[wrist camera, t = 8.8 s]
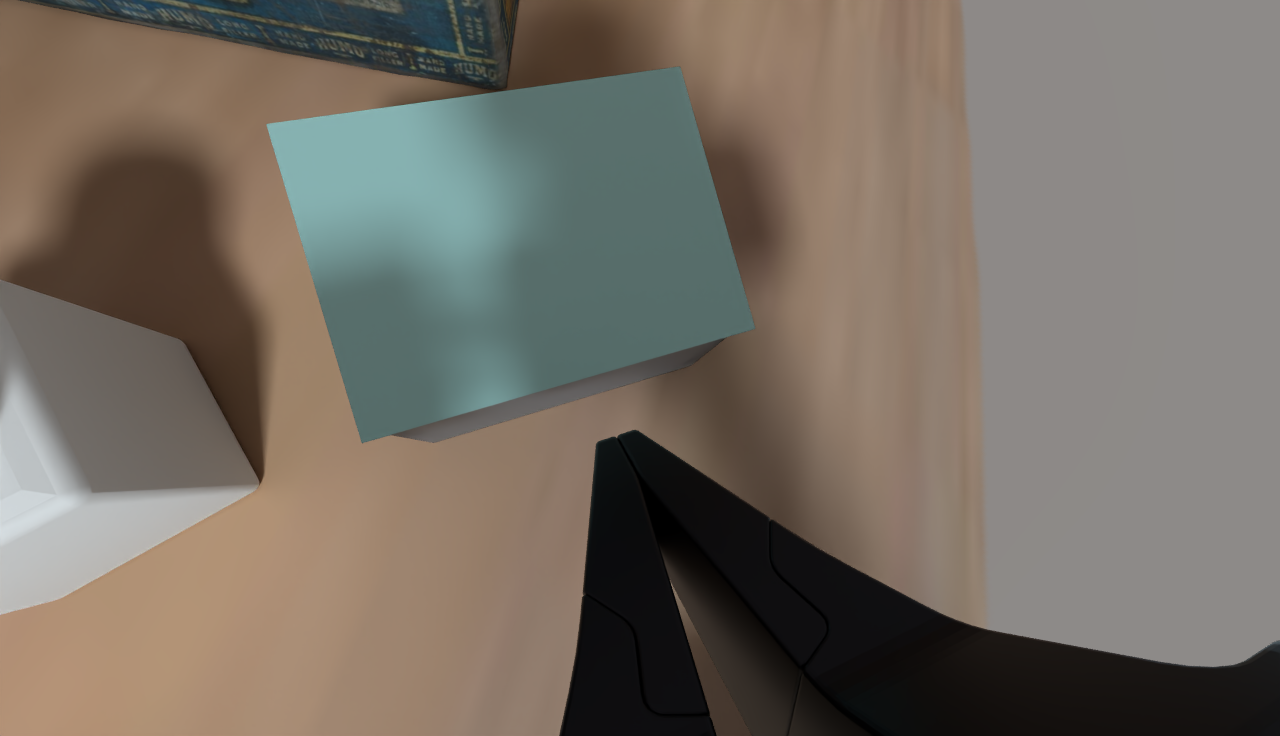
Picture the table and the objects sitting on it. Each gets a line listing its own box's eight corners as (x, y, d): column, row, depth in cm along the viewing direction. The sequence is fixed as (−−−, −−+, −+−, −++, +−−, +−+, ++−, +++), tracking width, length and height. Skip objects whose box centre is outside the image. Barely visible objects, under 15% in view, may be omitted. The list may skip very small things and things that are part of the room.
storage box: (690, 365, 22) (737, 328, 16) (433, 442, 19) (377, 432, 13) (633, 201, 23) (656, 113, 17) (385, 252, 21) (316, 168, 15)
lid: (744, 331, 16) (755, 328, 15) (372, 440, 13) (362, 443, 12) (673, 82, 16) (679, 66, 15) (282, 140, 13) (266, 124, 12)
